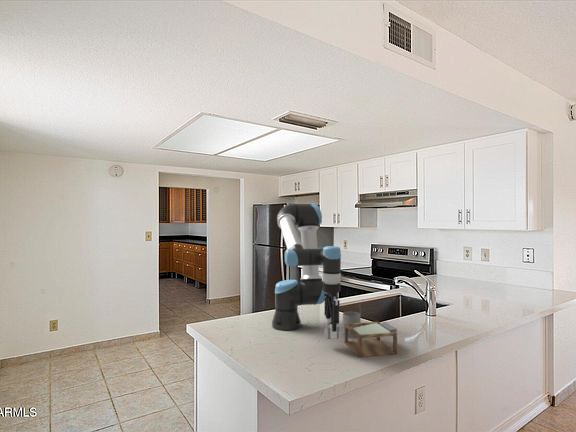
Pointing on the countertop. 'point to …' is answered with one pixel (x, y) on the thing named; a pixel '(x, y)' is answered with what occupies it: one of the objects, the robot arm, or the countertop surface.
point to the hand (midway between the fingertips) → (331, 335)
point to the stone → (327, 331)
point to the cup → (351, 321)
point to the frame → (369, 342)
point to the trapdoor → (375, 329)
